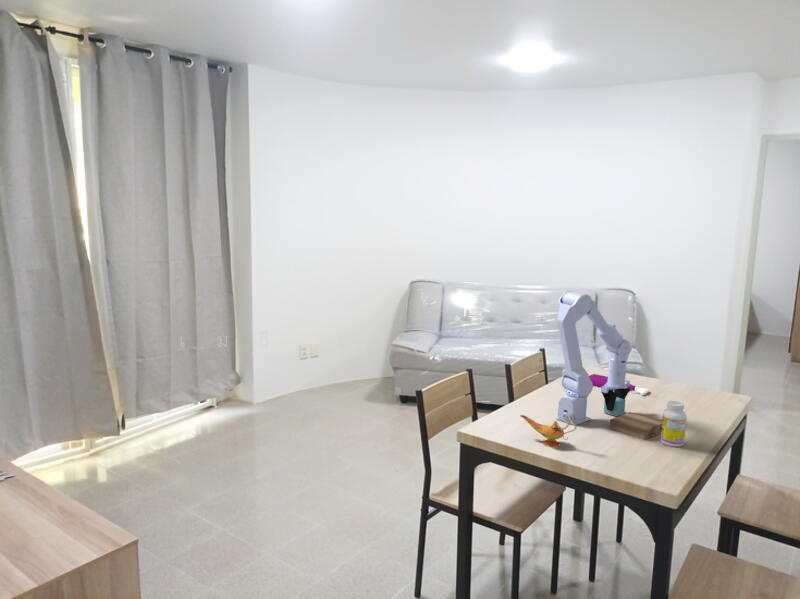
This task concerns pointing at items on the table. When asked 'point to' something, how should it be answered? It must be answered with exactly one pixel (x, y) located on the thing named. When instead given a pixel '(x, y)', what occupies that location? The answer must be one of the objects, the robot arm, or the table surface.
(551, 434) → the magic lamp
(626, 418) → the walnut base
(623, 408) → the teal cube
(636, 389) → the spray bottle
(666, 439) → the supplement bottle
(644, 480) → the table surface
